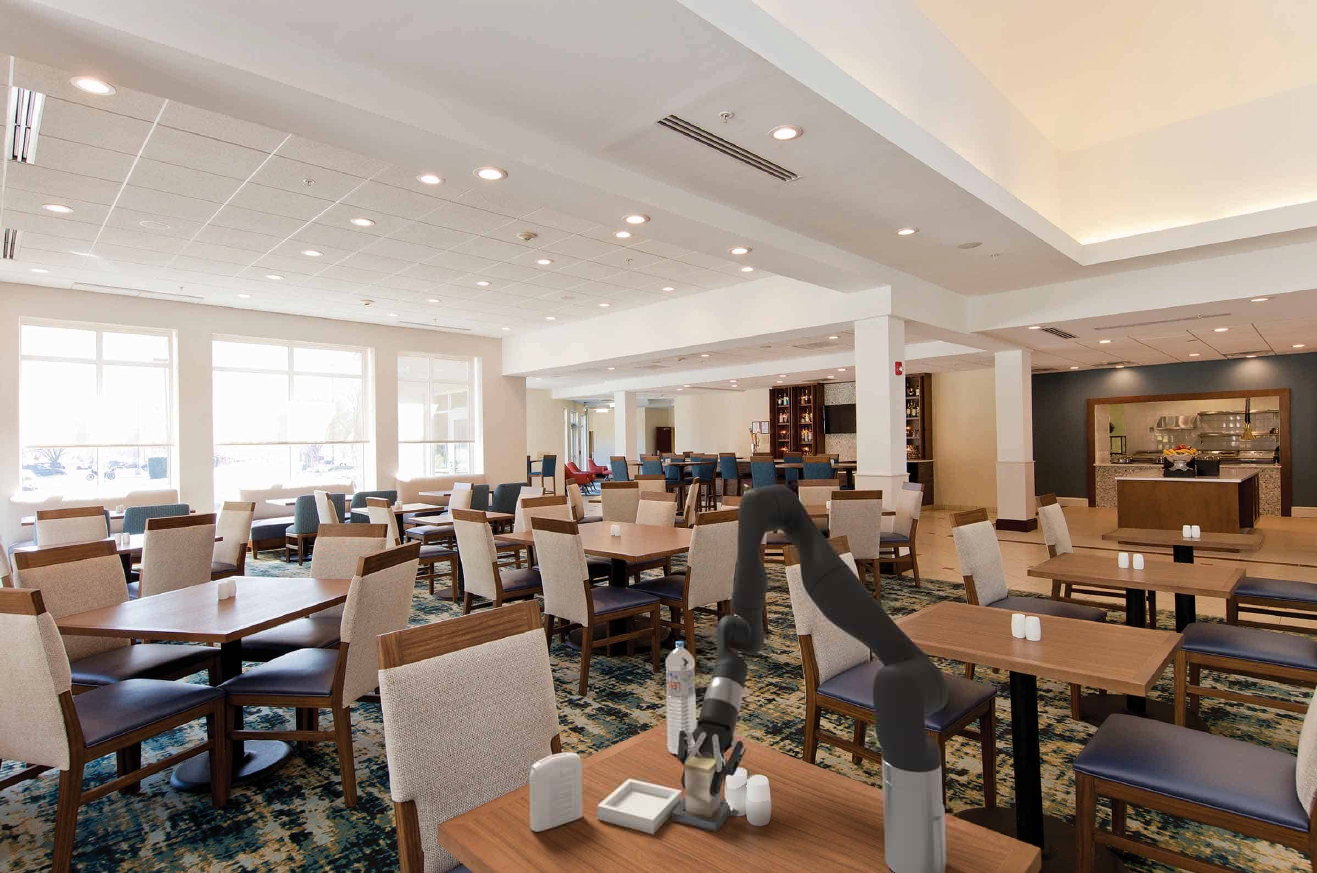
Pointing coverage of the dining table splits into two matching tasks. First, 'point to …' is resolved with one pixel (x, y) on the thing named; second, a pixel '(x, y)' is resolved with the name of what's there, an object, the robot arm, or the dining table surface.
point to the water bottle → (680, 696)
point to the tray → (639, 805)
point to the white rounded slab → (555, 791)
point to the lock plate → (702, 821)
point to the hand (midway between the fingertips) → (698, 791)
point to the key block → (700, 786)
